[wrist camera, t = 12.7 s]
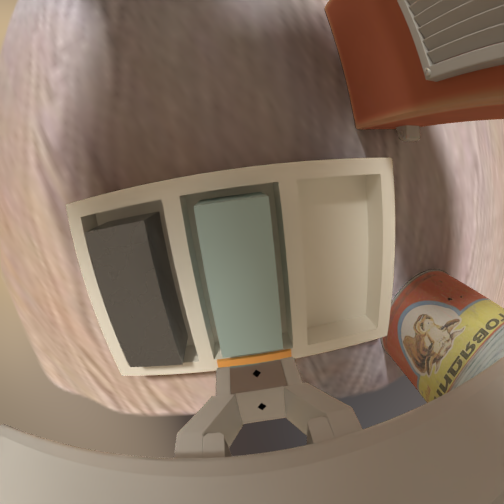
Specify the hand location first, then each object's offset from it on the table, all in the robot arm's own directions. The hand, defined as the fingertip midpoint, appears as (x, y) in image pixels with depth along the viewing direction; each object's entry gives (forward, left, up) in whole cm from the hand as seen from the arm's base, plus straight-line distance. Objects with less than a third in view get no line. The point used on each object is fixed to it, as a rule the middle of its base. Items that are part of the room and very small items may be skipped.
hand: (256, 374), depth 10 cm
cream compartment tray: (0, 0, -13) cm, 13 cm away
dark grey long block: (0, -8, -12) cm, 14 cm away
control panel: (-17, +13, -13) cm, 25 cm away
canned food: (+9, +19, -13) cm, 25 cm away
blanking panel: (0, 0, -12) cm, 12 cm away
